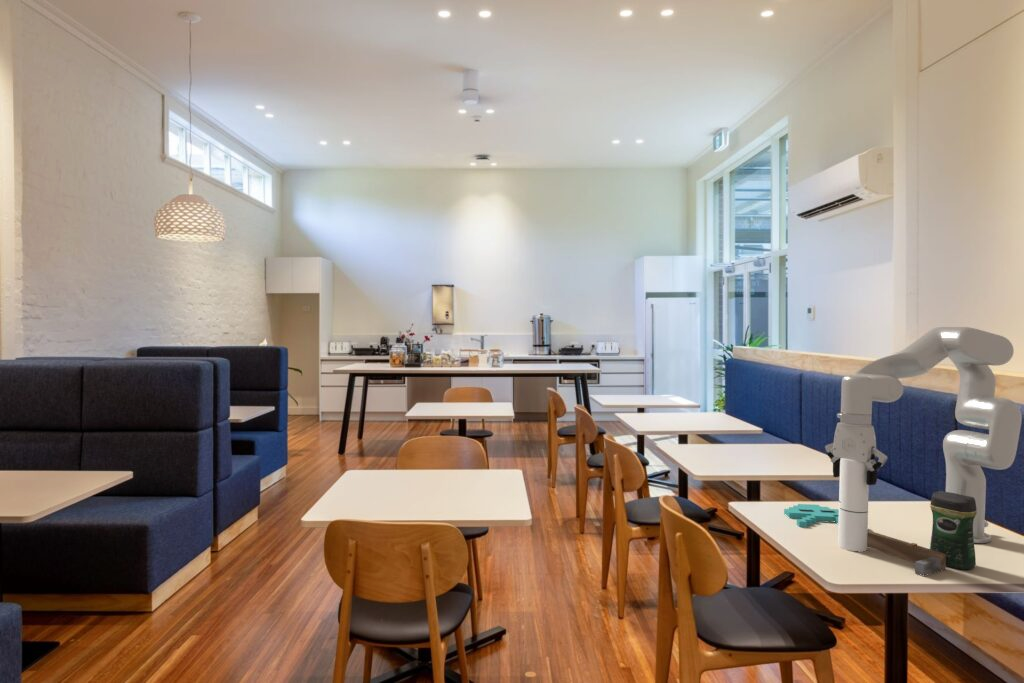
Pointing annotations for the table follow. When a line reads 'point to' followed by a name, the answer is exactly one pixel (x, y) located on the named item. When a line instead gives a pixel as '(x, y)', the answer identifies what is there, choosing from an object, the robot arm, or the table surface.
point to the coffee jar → (954, 528)
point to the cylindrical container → (853, 505)
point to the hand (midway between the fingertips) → (854, 480)
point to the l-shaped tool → (908, 552)
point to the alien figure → (811, 514)
